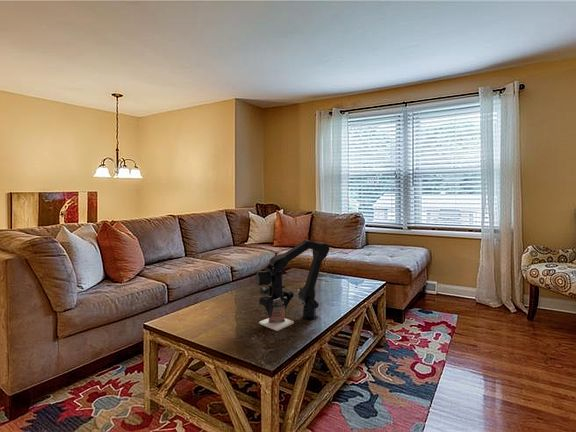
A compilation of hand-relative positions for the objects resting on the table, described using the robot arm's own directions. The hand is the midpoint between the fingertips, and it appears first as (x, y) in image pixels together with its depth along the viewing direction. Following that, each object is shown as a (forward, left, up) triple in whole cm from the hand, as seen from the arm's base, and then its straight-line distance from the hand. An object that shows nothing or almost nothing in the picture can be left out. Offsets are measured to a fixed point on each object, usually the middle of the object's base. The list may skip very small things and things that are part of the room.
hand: (276, 314), depth 168 cm
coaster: (0, 0, -4) cm, 4 cm away
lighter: (0, 0, -4) cm, 4 cm away
